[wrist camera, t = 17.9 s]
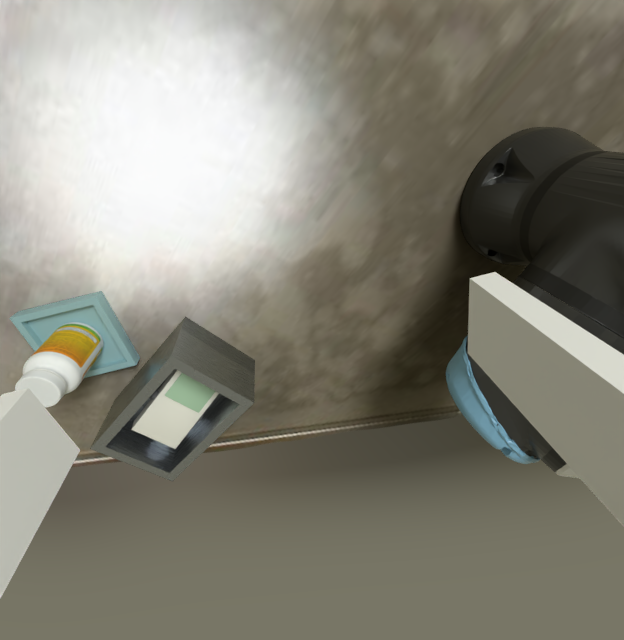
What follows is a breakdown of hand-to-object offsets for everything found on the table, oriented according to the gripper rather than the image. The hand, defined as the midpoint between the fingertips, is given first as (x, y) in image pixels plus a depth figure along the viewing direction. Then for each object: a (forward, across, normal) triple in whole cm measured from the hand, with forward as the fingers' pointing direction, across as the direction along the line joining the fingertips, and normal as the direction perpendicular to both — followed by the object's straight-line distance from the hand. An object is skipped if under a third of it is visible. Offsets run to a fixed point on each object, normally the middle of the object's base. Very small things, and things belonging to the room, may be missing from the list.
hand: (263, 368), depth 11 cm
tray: (+32, +26, +12) cm, 43 cm away
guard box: (+32, +17, +22) cm, 42 cm away
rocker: (+26, +17, +22) cm, 38 cm away
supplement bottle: (+31, +26, +12) cm, 42 cm away
